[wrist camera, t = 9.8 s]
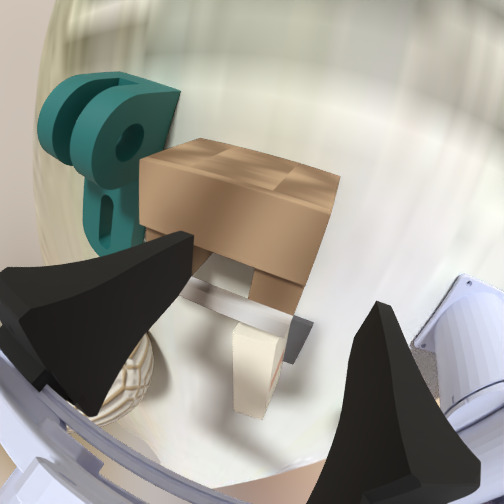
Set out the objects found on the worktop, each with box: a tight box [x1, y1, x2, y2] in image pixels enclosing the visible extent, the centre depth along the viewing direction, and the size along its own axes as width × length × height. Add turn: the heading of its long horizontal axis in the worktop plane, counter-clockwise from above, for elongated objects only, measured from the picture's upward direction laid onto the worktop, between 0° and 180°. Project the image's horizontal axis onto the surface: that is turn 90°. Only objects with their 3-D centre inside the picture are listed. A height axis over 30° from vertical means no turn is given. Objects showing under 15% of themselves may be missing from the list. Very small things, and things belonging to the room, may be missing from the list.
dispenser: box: [139, 138, 340, 338], centre depth 18 cm, size 10×8×7 cm
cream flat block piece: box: [233, 321, 290, 420], centre depth 24 cm, size 3×12×6 cm, turn 175°
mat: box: [283, 315, 314, 364], centre depth 26 cm, size 5×6×1 cm
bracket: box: [37, 72, 181, 257], centre depth 20 cm, size 18×7×8 cm, turn 155°
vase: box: [66, 332, 154, 434], centre depth 28 cm, size 16×16×20 cm
